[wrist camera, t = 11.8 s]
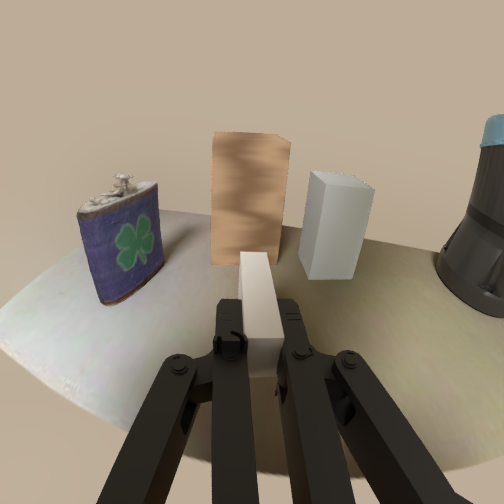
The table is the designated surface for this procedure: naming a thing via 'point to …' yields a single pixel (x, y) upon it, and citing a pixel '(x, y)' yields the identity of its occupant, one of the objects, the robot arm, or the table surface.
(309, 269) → the number block
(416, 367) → the table surface
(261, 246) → the plain block
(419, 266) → the table surface
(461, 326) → the table surface
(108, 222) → the flask
